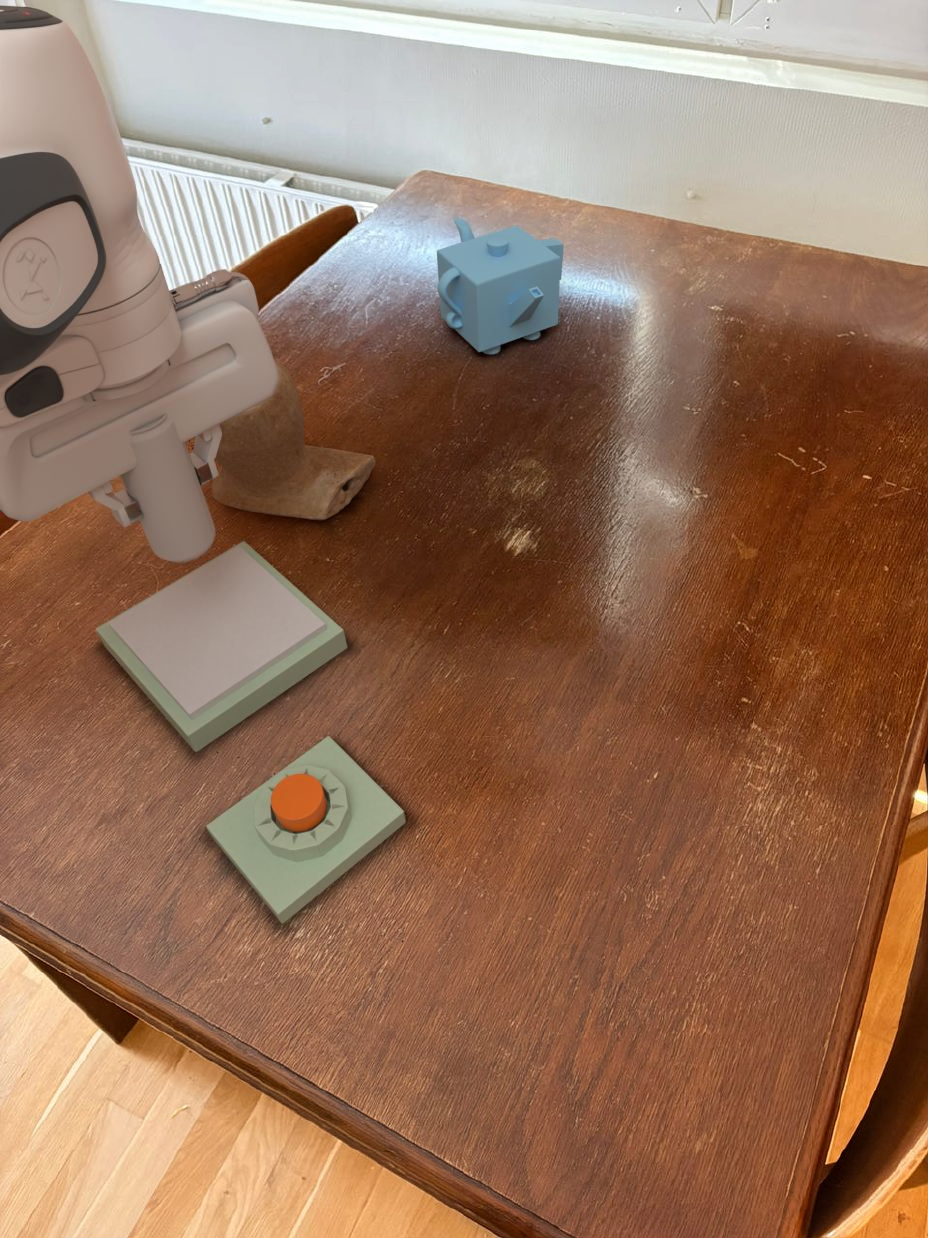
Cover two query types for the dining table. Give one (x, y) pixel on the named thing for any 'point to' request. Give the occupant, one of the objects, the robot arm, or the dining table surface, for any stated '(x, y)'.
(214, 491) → the tan stone pipe
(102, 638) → the scale
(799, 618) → the dining table surface
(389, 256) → the dining table surface
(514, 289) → the teapot
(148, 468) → the beverage can
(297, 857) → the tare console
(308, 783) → the button
